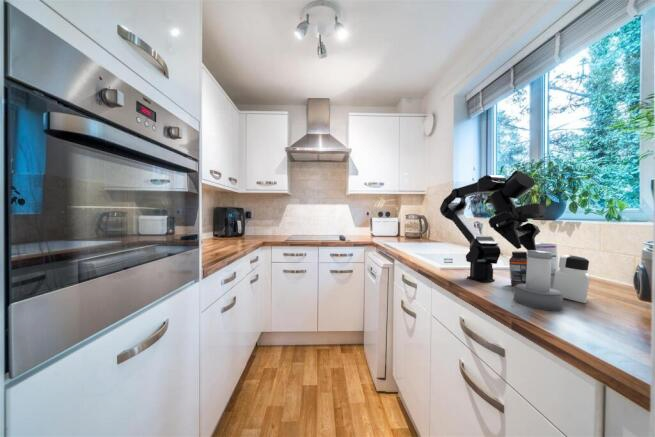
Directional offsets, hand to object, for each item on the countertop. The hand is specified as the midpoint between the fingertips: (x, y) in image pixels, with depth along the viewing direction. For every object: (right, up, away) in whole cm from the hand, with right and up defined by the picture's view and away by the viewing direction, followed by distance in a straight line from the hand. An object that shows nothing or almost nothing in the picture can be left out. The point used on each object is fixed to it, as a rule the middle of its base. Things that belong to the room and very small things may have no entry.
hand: (527, 251), depth 74 cm
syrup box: (+11, -13, +7) cm, 19 cm away
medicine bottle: (+12, -14, 0) cm, 18 cm away
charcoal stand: (-2, -13, -6) cm, 15 cm away
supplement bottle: (+7, -13, +10) cm, 18 cm away
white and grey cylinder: (-2, -9, -6) cm, 11 cm away
